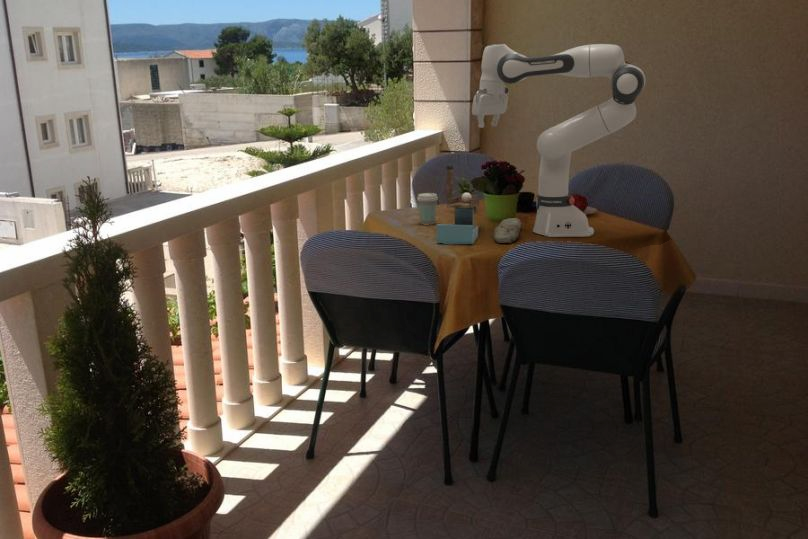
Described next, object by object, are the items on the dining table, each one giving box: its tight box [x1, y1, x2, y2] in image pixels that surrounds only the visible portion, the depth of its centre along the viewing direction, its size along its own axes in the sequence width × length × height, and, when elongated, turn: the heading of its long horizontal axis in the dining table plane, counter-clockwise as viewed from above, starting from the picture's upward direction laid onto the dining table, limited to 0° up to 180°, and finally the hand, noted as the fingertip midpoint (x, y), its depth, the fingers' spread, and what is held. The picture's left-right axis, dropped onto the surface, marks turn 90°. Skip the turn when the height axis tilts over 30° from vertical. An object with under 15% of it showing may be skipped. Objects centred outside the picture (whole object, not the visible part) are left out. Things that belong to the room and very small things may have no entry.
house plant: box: [453, 176, 477, 195], centre depth 316 cm, size 14×14×16 cm
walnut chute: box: [445, 163, 480, 211], centre depth 277 cm, size 12×20×18 cm, turn 166°
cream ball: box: [462, 192, 472, 203], centre depth 284 cm, size 4×4×4 cm
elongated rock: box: [493, 217, 522, 244], centre depth 276 cm, size 35×5×10 cm
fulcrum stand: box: [454, 208, 475, 226], centre depth 280 cm, size 10×6×9 cm, turn 76°
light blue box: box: [435, 223, 479, 245], centre depth 267 cm, size 13×13×7 cm
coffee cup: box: [416, 192, 439, 225], centre depth 295 cm, size 8×8×12 cm
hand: (487, 126), depth 274 cm, fingers open, 8 cm apart
